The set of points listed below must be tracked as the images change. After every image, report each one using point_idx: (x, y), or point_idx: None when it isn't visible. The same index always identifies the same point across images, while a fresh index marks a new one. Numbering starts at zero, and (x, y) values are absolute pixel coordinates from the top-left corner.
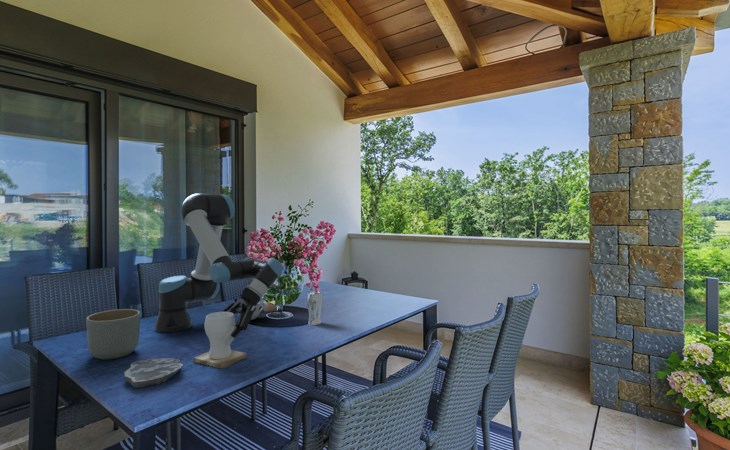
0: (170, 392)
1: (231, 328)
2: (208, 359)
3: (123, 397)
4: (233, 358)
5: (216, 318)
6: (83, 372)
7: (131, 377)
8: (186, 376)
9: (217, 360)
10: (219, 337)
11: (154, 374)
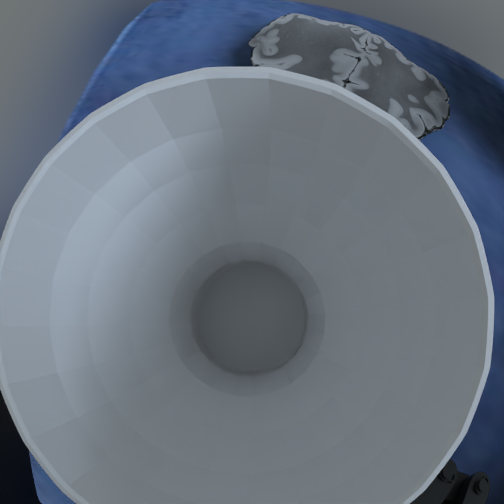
0: (191, 54)
1: (76, 322)
2: None
3: (277, 13)
4: None
5: (100, 109)
6: (484, 75)
7: (330, 23)
8: None
9: None
10: (164, 233)
11: (293, 44)
